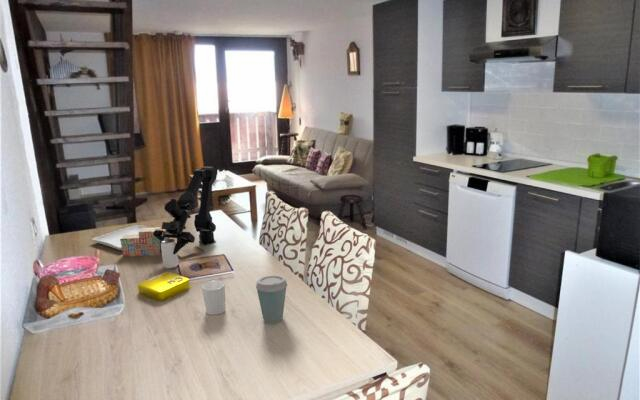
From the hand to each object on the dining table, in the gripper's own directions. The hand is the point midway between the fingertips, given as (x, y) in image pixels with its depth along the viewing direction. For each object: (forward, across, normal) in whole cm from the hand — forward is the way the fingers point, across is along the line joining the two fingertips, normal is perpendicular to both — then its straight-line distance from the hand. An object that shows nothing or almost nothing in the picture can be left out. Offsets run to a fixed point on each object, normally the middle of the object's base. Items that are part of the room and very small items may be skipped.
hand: (167, 253), depth 203 cm
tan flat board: (-7, 0, +16) cm, 18 cm away
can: (+4, 0, +6) cm, 7 cm away
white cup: (+26, +42, -17) cm, 52 cm away
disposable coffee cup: (+27, +64, -17) cm, 72 cm away
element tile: (+20, +13, -10) cm, 25 cm away
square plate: (-14, -43, +24) cm, 51 cm away
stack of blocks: (-4, -22, +14) cm, 26 cm away
